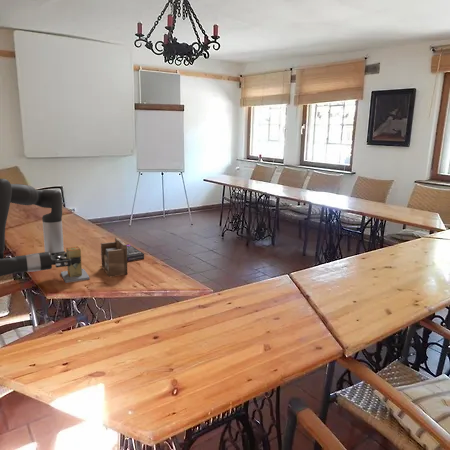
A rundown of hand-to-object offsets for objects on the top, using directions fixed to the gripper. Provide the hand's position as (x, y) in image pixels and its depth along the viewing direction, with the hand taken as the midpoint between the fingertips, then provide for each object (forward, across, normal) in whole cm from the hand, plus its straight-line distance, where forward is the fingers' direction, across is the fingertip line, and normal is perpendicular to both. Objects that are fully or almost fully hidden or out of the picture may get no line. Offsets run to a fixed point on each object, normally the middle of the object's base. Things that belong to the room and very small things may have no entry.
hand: (78, 256), depth 177 cm
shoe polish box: (-2, 0, +8) cm, 8 cm away
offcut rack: (+16, 0, +9) cm, 18 cm away
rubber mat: (-2, 0, +9) cm, 9 cm away
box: (+26, +20, +10) cm, 34 cm away
